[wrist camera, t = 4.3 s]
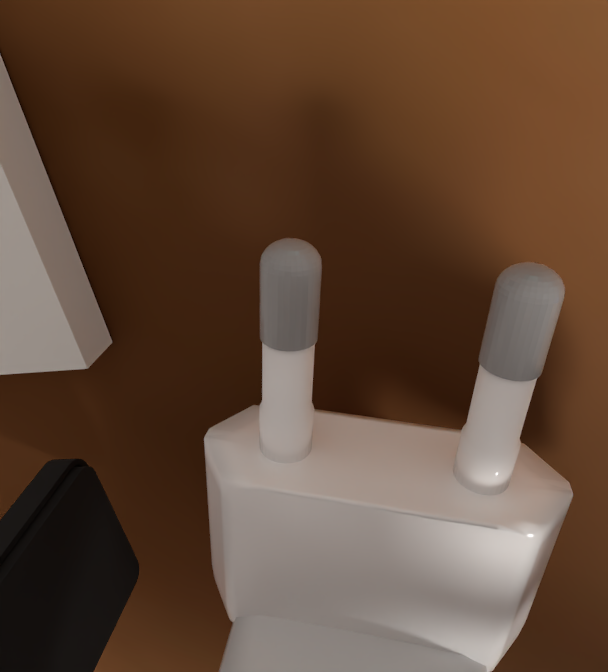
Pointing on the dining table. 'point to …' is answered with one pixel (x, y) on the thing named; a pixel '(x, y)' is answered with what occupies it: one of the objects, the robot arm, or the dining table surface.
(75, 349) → the charging board
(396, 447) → the power adapter
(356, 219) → the dining table surface
